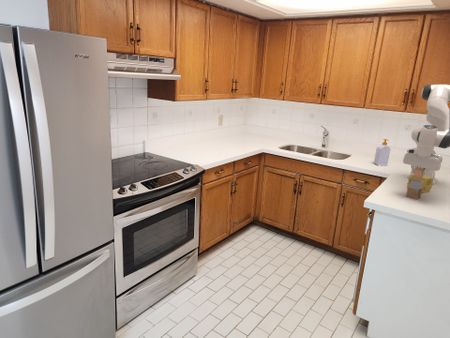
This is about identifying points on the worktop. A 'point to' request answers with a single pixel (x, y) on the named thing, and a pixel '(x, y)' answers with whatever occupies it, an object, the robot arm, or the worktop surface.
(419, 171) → the peach brown rounded dome
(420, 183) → the grey block
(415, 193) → the walnut block
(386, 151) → the soap bottle
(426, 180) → the cheese
